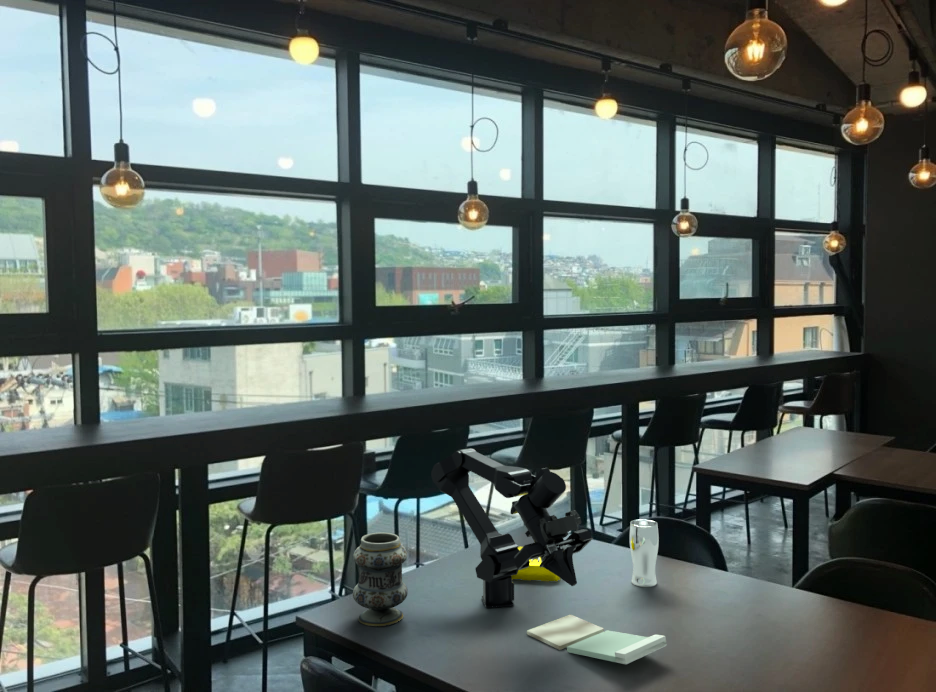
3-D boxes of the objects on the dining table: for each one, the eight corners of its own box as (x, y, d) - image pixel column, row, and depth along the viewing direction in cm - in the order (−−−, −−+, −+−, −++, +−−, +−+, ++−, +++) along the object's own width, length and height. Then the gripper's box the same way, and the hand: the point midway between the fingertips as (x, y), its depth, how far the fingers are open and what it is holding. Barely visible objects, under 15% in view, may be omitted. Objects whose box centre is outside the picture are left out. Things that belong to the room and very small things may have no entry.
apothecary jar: (419, 616, 165) (418, 536, 164) (377, 634, 156) (376, 549, 156) (383, 602, 173) (382, 526, 173) (342, 618, 165) (340, 538, 164)
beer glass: (659, 588, 180) (659, 527, 179) (629, 587, 181) (629, 526, 181) (657, 578, 187) (657, 519, 186) (629, 577, 188) (629, 518, 188)
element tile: (563, 563, 200) (563, 546, 200) (560, 583, 186) (560, 564, 185) (508, 561, 203) (508, 543, 203) (500, 580, 188) (500, 561, 188)
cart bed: (526, 634, 155) (526, 630, 155) (570, 617, 163) (570, 614, 163) (559, 650, 148) (559, 646, 148) (603, 632, 156) (603, 628, 156)
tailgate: (566, 642, 147) (624, 654, 136) (606, 626, 155) (665, 635, 143) (567, 652, 147) (626, 664, 135) (608, 635, 154) (666, 645, 143)
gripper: (523, 506, 151) (562, 575, 143) (586, 492, 162) (626, 555, 154) (498, 536, 157) (534, 603, 149) (560, 520, 169) (597, 581, 161)
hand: (574, 584), depth 153 cm, fingers closed
